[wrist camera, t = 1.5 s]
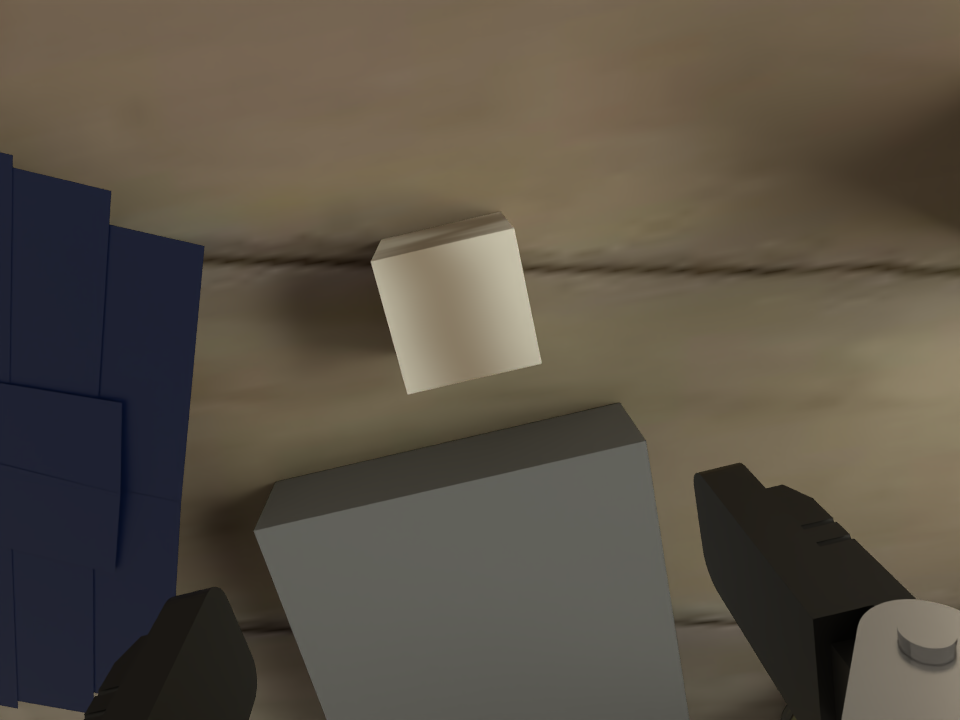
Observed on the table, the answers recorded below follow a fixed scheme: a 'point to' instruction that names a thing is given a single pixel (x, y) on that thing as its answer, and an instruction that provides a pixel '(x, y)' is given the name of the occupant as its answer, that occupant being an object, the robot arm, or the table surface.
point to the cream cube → (456, 302)
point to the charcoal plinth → (483, 578)
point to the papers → (86, 433)
